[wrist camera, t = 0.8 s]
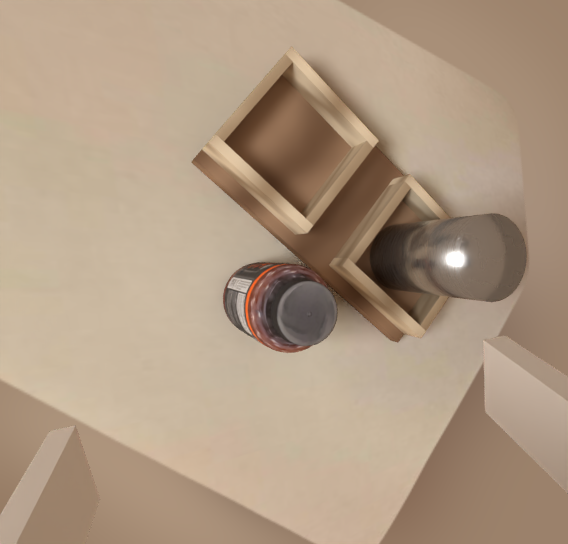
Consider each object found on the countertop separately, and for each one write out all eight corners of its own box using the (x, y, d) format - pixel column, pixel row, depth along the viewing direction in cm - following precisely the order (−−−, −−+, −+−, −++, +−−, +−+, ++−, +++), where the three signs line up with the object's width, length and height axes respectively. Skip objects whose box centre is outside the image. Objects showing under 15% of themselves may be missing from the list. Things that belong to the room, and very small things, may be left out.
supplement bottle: (290, 263, 39) (356, 266, 28) (287, 332, 39) (352, 361, 28) (222, 260, 36) (265, 262, 26) (219, 333, 37) (260, 365, 26)
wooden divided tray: (191, 162, 35) (199, 151, 32) (282, 57, 38) (299, 37, 34) (390, 340, 42) (414, 347, 39) (457, 242, 45) (485, 241, 41)
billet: (357, 261, 39) (442, 264, 29) (395, 210, 41) (489, 195, 30) (401, 303, 41) (496, 319, 31) (436, 253, 42) (539, 252, 32)
